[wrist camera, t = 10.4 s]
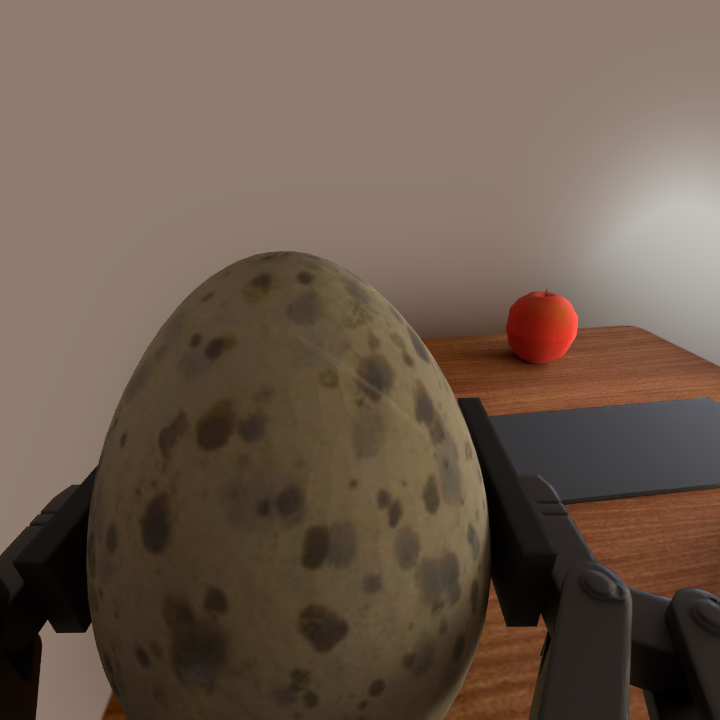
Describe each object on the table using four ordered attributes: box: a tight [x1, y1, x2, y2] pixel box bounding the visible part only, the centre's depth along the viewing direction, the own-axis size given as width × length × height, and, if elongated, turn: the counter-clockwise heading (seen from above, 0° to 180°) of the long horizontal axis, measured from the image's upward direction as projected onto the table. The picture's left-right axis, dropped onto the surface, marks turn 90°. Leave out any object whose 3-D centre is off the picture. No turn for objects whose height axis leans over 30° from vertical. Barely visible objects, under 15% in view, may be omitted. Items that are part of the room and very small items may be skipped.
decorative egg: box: [87, 251, 491, 720], centre depth 12 cm, size 11×11×15 cm
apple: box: [506, 290, 578, 364], centre depth 62 cm, size 10×10×12 cm
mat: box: [489, 397, 720, 504], centre depth 43 cm, size 48×14×1 cm, turn 96°
